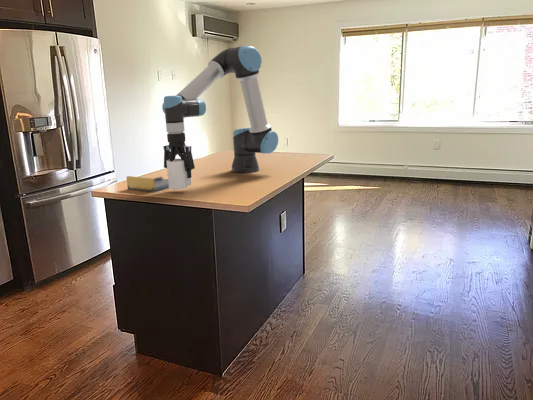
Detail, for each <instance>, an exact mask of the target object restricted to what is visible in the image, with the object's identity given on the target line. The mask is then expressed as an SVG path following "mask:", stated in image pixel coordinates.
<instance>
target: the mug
mask: <svg viewBox="0 0 533 400" xmlns="http://www.w3.org/2000/svg"><path fill="white" fill-rule="evenodd" d="M166 162H167V168H166V169H167V179H168V181H169V188H168V189H169V190H182V189H186V188H188V187H189V186H186V182H185V170H186V169H185V167H184V160H183V161H182V160H181V158H175V159H174V160H173V161H172V162H170V160H167V161H166Z"/></svg>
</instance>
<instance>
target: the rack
mask: <svg viewBox="0 0 533 400" xmlns="http://www.w3.org/2000/svg"><path fill="white" fill-rule="evenodd" d="M126 186H127V190H129V191H130V190H131V191H137V192H149V193H157V192H160V191H163V190H167V189H169V181H168V178H163V176H158V177H154V178H153V177H142V176H133V175H132V176H131V175H128V176H126Z"/></svg>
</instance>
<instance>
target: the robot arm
mask: <svg viewBox="0 0 533 400" xmlns="http://www.w3.org/2000/svg"><path fill="white" fill-rule="evenodd" d="M261 67H262V56H261V54H260V52H259V50H258V49H257V48H255V47H254V46H252V45H242V46H241V45H240V46H237V47H235V46H234V47H228V48H225V49H224V50H222V51H220V52H219V53H218V54H217V55H215V56H214V57H213V58H212V59H211V60H210V61H208V64H207V67H205V68H204V69H203V70H202V71H201V72H200V73H199V74H198V75H196V76H195V77H194V78H193V79H192V80H191V81H190V82H189V83H188V84H187V85H186V86H184V87H183V88H182V89H181V90H180V91H179V92H178V93H177V94H176V95H166V96H164V97H163V103H162V111H163V113H164V117H165V118H164V119H165V125H166V126H165V127H166V132H167V134H166V136H167V142H168V145H164V146H163V152H164V153H163V154H164V155H163V168H164V169H167V162H166V161H167V160H170V162H172V161H173V160H174V159H176V157H177V156H178V157H180V159H181V160H182V161H183V160H184V167H185V169H186V170H185V182H186V186H188V187H190V186H191V185H192V180H191V178H192V170H194V169H195V162H194V158H193V154H192V146H189V145H186V134H185V131H186V130H185V122H184V119H185V118H193V117H200V116H203V115H205V113H206V111H207V104H206V103H205V101H204V100H203V99H202V98H199V97H200V96H201V95H202V94H204V93H205V92H206V91H207V90H208V89H209V88H210V87H211V86H212V85H213V84H214V83H215V82H216V81H217V80H218V79H223V78H224V76H226V75H229V74H231V73H234V76H235V79H236V80H238V81H239V82H240V83H239V84H240V87H241V92H242V95H243V99H244V103H245V106H246V107H245V108H246V111H247V115H248V120H249V123H250V124H249V125H250V127H244V128H238V129H237V128H236V129H234V130H233V131H232V133H233V134H232V135H233V137H232V139H233V155H234V157H233V161H232V165H231V172H233V173H242V174H243V173H254V172H258V171H260V165H259V162H258V160H257V159H258V158H257V157H256V153H259V154H263V155H264V154H272V153H273V152H274V151H275V150H276V149H277V147H278V144H279V135H278V133H277V132H276V131H274V130H272V129H273V128H272V125H271V124H269V123H268V121H267V117H266V111H265V106H264V103H263V98H262V94H261V89H260V84H259V80H258V75H259V74H260V69H261Z"/></svg>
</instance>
